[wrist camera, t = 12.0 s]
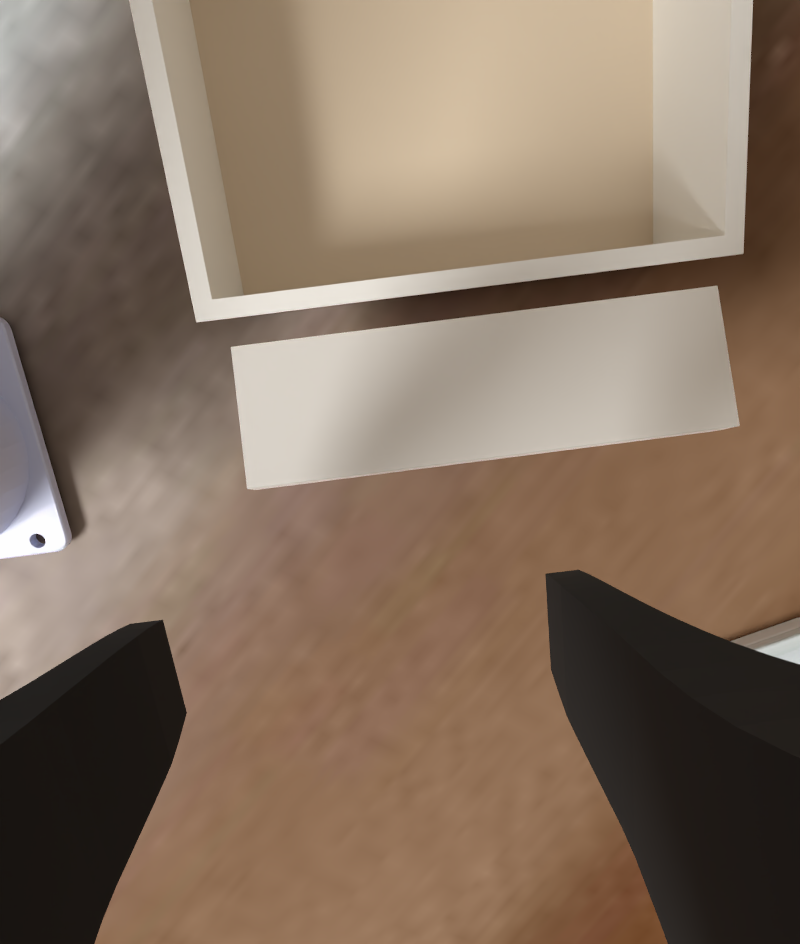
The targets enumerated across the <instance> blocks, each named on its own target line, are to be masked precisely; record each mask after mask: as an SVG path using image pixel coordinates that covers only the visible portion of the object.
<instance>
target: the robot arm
mask: <svg viewBox="0 0 800 944" xmlns="http://www.w3.org/2000/svg"><path fill="white" fill-rule="evenodd" d="M36 534H40V535H42V536H43V537H44V539H45V543H41V542H39V541H38V540H37V538H36ZM71 539H72V534H71V530H70V527H69V523H68V520H67V517H66V513H65V510H64V506H63V503H62V500H61V496H60V493H59V490H58V486H57V483H56V479H55V476H54V473H53V469H52V466H51V462H50V459H49V456H48V452H47V449H46V445H45V442H44V439H43V435H42V432H41V428H40V425H39V422H38V418H37V415H36V411H35V408H34V405H33V401H32V398H31V394H30V391H29V388H28V384H27V381H26V377H25V374H24V371H23V367H22V364H21V360H20V357H19V354H18V350H17V347H16V343H15V340H14V337H13V333H12V330H11V328H10V326H9V324H8V323H7V322H6V321H5V320H4V319H3V318H1V317H0V559H5V558H13V557H20V556H28V555H36V554H44V553H51V552H58V551H61V550H63V549H64V548H65V547H66V546H68V545H69V544H70V542H71ZM546 590H547V607H548V624H549V641H550V658H551V670H552V674H553V677H554V680H555V683H556V686H557V689H558V692H559V695H560V698H561V700H562V703H563V706H564V709H565V712H566V715H567V717H568V719H569V721H570V723H571V726H572V728H573V730H574V732H575V734H576V736H577V738H578V740H579V742H580V744H581V746H582V748H583V750H584V752H585V754H586V756H587V758H588V760H589V762H590V764H591V766H592V768H593V770H594V772H595V774H596V776H597V778H598V780H599V782H600V784H601V786H602V788H603V790H604V792H605V794H606V796H607V798H608V800H609V802H610V804H611V806H612V808H613V810H614V812H615V814H616V816H617V818H618V820H619V822H620V824H621V826H622V828H623V831H624V833H625V835H626V837H627V840H628V842H629V844H630V846H631V849H632V851H633V853H634V855H635V858H636V860H637V863H638V866H639V868H640V871H641V873H642V876H643V879H644V881H645V884H646V887H647V889H648V892H649V894H650V897H651V900H652V902H653V905H654V907H655V910H656V913H657V915H658V918H659V921H660V923H661V926H662V929H663V931H664V934H665V937H666V940H667V942H668V944H800V664H796V663H793V662H790V661H787V660H783V659H780V658H777V657H774V656H770V655H768V654H765V653H762V652H759V651H756V650H753V649H750V648H748V647H745V646H742V645H739V644H736V643H733V642H730V641H728V640H725V639H723V638H720V637H718V636H715V635H713V634H710V633H708V632H705V631H703V630H701V629H699V628H696V627H694V626H692V625H689V624H687V623H685V622H683V621H680V620H678V619H676V618H674V617H672V616H670V615H667V614H665V613H663V612H661V611H659V610H657V609H655V608H653V607H651V606H649V605H647V604H645V603H643V602H641V601H639V600H637V599H635V598H633V597H631V596H630V595H628V594H626V593H624V592H622V591H620V590H618V589H616V588H614V587H612V586H611V585H609V584H607V583H605V582H603V581H601V580H599V579H597V578H595V577H593V576H591V575H589V574H587V573H585V572H582V571H580V570H574V571H565V572H557V573H549V574H546ZM186 713H187V712H186V708H185V705H184V701H183V697H182V693H181V689H180V685H179V681H178V677H177V673H176V670H175V666H174V662H173V658H172V654H171V650H170V646H169V642H168V639H167V635H166V631H165V627H164V623H163V620H159V621H151V622H142V623H134V624H129V625H127V626H125V627H123V628H120V629H118V630H117V631H115V632H113V633H111V634H109V635H107V636H106V637H104V638H102V639H100V640H99V641H97V642H95V643H94V644H92V645H90V646H89V647H87V648H85V649H84V650H82V651H80V652H79V653H77V654H76V655H74V656H72V657H71V658H69V659H68V660H66V661H64V662H63V663H61V664H59V665H58V666H56V667H55V668H53V669H51V670H50V671H48V672H47V673H45V674H43V675H42V676H40V677H38V678H37V679H35V680H34V681H32V682H30V683H29V684H27V685H25V686H23V687H22V688H20V689H18V690H17V691H15V692H13V693H11V694H10V695H8V696H6V697H5V698H3V699H1V700H0V944H94V943H95V940H96V937H97V934H98V931H99V928H100V925H101V923H102V920H103V917H104V915H105V912H106V910H107V907H108V905H109V902H110V900H111V898H112V895H113V893H114V890H115V888H116V886H117V883H118V881H119V879H120V877H121V875H122V872H123V870H124V868H125V866H126V864H127V862H128V859H129V857H130V855H131V853H132V851H133V848H134V846H135V844H136V842H137V840H138V838H139V835H140V833H141V831H142V829H143V827H144V824H145V822H146V820H147V818H148V816H149V814H150V811H151V809H152V807H153V805H154V803H155V800H156V798H157V796H158V794H159V791H160V789H161V787H162V785H163V782H164V780H165V778H166V776H167V773H168V771H169V769H170V766H171V764H172V761H173V758H174V755H175V752H176V748H177V745H178V742H179V739H180V735H181V731H182V728H183V724H184V721H185V717H186Z"/></svg>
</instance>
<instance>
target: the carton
mask: <svg viewBox="0 0 800 944" xmlns="http://www.w3.org/2000/svg"><path fill="white" fill-rule="evenodd" d="M129 4H130V8H131V13H132V18H133V23H134V27H135V32H136V37H137V42H138V46H139V51H140V56H141V61H142V66H143V70H144V75H145V80H146V85H147V89H148V94H149V99H150V104H151V109H152V113H153V118H154V123H155V128H156V132H157V137H158V142H159V147H160V152H161V156H162V161H163V166H164V171H165V175H166V180H167V185H168V190H169V195H170V199H171V204H172V209H173V214H174V218H175V223H176V228H177V233H178V238H179V242H180V247H181V252H182V257H183V261H184V266H185V271H186V276H187V281H188V285H189V290H190V295H191V300H192V304H193V309H194V314H195V319H196V322H205V321H213V320H222V319H230V318H238V317H246V316H254V315H262V314H270V313H278V312H286V311H294V310H302V309H310V308H318V307H326V306H334V305H342V304H350V303H358V302H366V301H374V300H382V299H390V298H398V297H406V296H414V295H422V294H430V293H438V292H446V291H454V290H462V289H470V288H478V287H486V286H494V285H502V284H510V283H518V282H525V281H533V280H541V279H549V278H557V277H565V276H573V275H581V274H589V273H597V272H605V271H613V270H621V269H629V268H637V267H645V266H653V265H661V264H669V263H676V262H684V261H692V260H700V259H707V258H715V257H723V256H731V255H738V254H743V253H744V227H745V200H746V174H747V147H748V121H749V94H750V68H751V41H752V15H753V0H129Z"/></svg>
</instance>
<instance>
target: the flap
mask: <svg viewBox="0 0 800 944" xmlns="http://www.w3.org/2000/svg"><path fill="white" fill-rule="evenodd" d="M231 353H232V361H233V370H234V379H235V387H236V396H237V405H238V413H239V422H240V431H241V439H242V448H243V457H244V465H245V474H246V483H247V489H254V490H259V489H266V488H274V487H282V486H290V485H298V484H306V483H313V482H321V481H329V480H337V479H345V478H352V477H360V476H368V475H376V474H384V473H391V472H399V471H407V470H415V469H423V468H430V467H438V466H446V465H454V464H462V463H469V462H477V461H485V460H493V459H501V458H508V457H516V456H524V455H532V454H540V453H547V452H555V451H563V450H571V449H579V448H586V447H594V446H602V445H610V444H618V443H625V442H633V441H641V440H649V439H657V438H664V437H672V436H680V435H688V434H696V433H703V432H711V431H719V430H723V429H728V428H732V427H737V426H740V425H739V419H738V412H737V406H736V400H735V393H734V387H733V381H732V374H731V368H730V362H729V355H728V349H727V343H726V336H725V330H724V324H723V317H722V311H721V305H720V298H719V292H718V286H710V287H703V288H695V289H687V290H679V291H671V292H663V293H655V294H647V295H639V296H631V297H623V298H615V299H607V300H599V301H591V302H583V303H575V304H567V305H560V306H552V307H544V308H536V309H528V310H520V311H512V312H504V313H496V314H488V315H480V316H472V317H464V318H456V319H448V320H440V321H432V322H424V323H417V324H409V325H401V326H393V327H385V328H377V329H369V330H361V331H353V332H345V333H337V334H329V335H321V336H313V337H305V338H297V339H289V340H281V341H274V342H266V343H258V344H250V345H242V346H234V347H231Z"/></svg>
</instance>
